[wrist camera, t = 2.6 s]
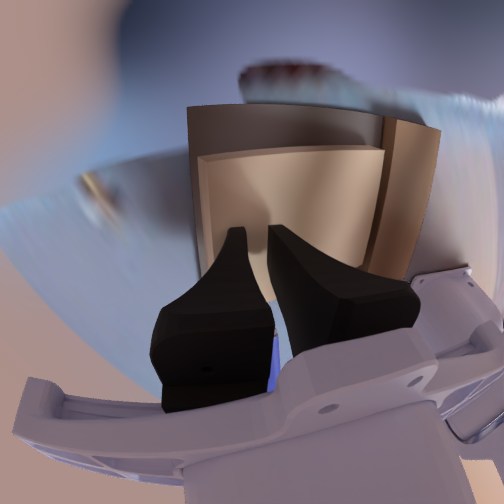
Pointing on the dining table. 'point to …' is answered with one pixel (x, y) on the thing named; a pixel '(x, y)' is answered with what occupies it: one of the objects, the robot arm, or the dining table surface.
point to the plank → (291, 200)
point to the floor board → (331, 133)
